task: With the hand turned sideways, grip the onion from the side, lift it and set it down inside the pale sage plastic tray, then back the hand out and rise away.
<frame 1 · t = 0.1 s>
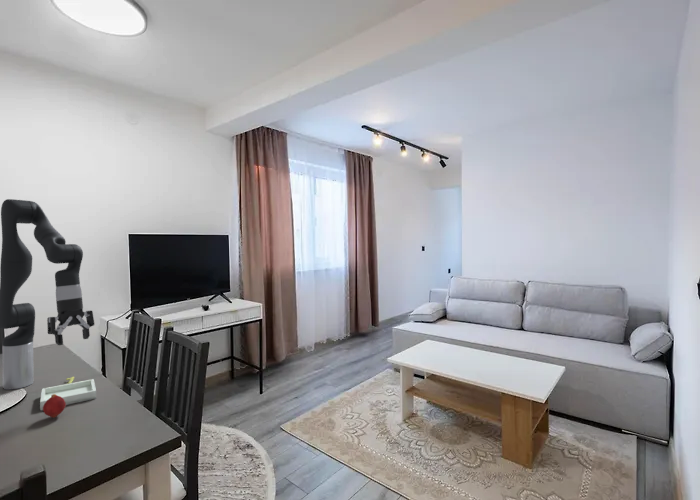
hand: (73, 341, 132), 22 cm above the table, tool pointing down, fingers open, 8 cm apart
tray: (69, 397, 136), on the table
onion: (54, 417, 121), on the table
key: (68, 387, 146), on the table
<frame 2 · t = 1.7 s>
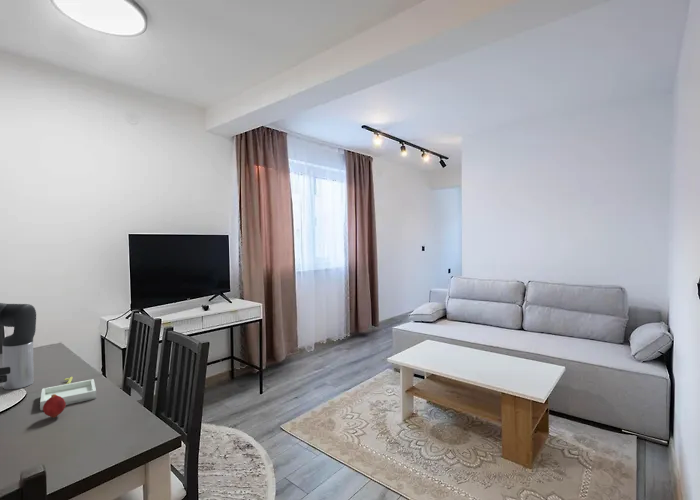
hand: (8, 373, 114), 17 cm above the table, tool horizontal, fingers open, 8 cm apart
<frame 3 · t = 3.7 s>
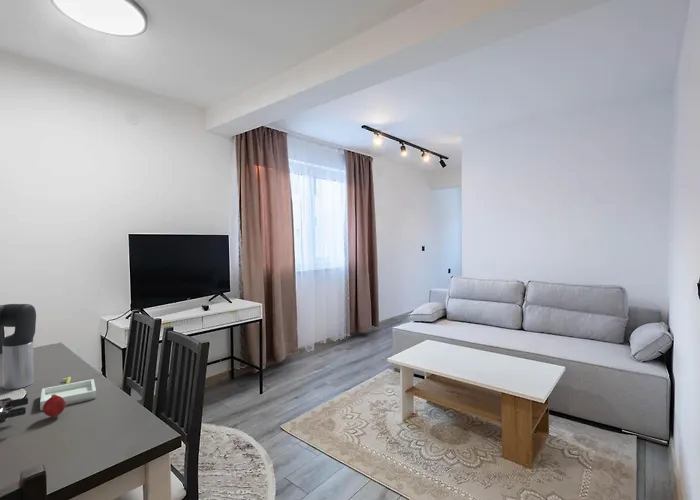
hand: (26, 405, 117), 6 cm above the table, tool horizontal, fingers open, 8 cm apart
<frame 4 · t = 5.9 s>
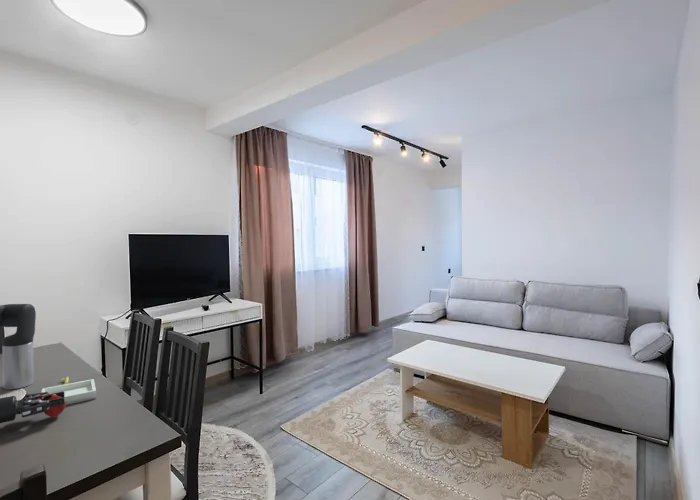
hand: (64, 397, 122), 6 cm above the table, tool horizontal, fingers closed on onion, 5 cm apart
onion: (54, 417, 121), on the table, touching gripper
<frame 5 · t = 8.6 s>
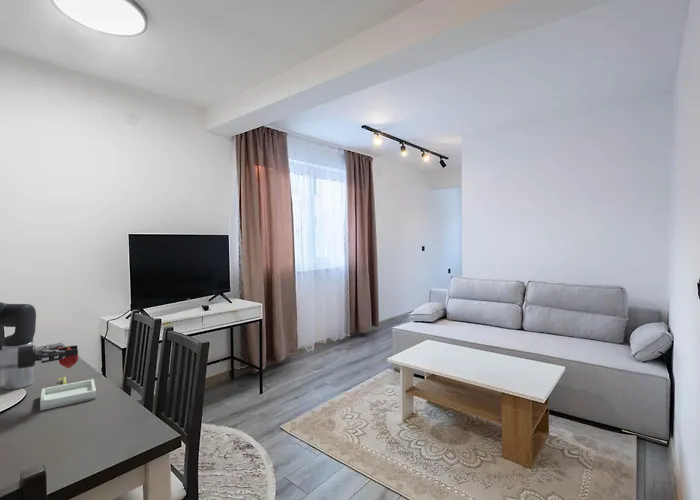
hand: (77, 350, 137), 18 cm above the table, tool horizontal, fingers closed on onion, 5 cm apart
onion: (68, 368, 136), point 11 cm above the table, touching gripper
when the fingers open (8 cm above the table, at t = 11.2 s): onion stays where it is, resting on tray.
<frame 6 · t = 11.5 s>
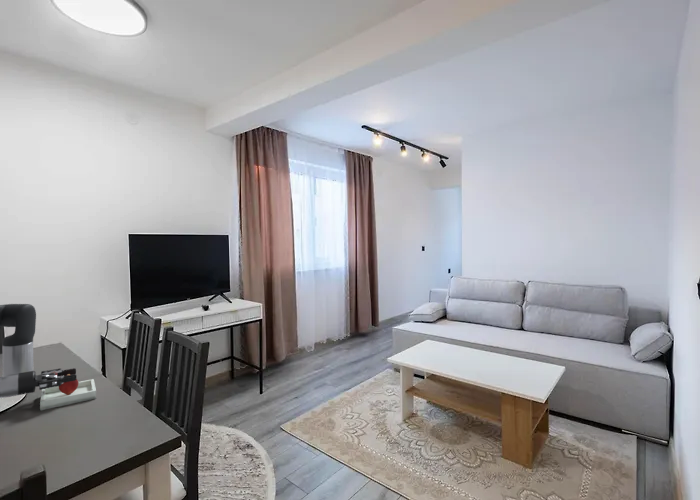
hand: (76, 374, 137), 8 cm above the table, tool horizontal, fingers open, 7 cm apart
onion: (68, 395, 136), point 1 cm above the table, touching tray
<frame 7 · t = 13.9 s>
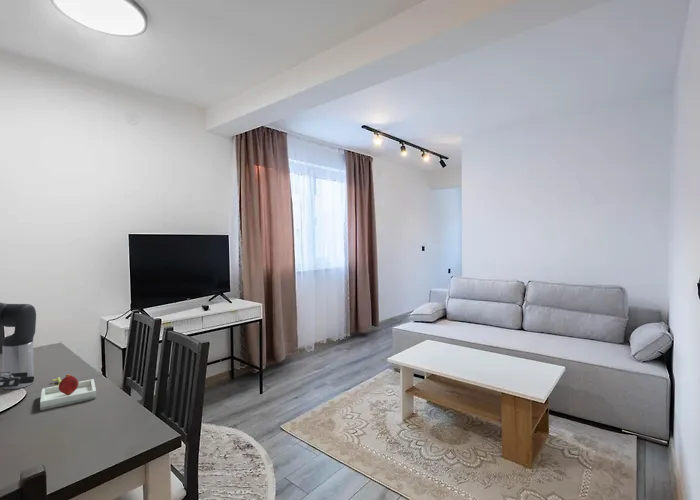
hand: (30, 377, 131), 9 cm above the table, tool horizontal, fingers open, 8 cm apart
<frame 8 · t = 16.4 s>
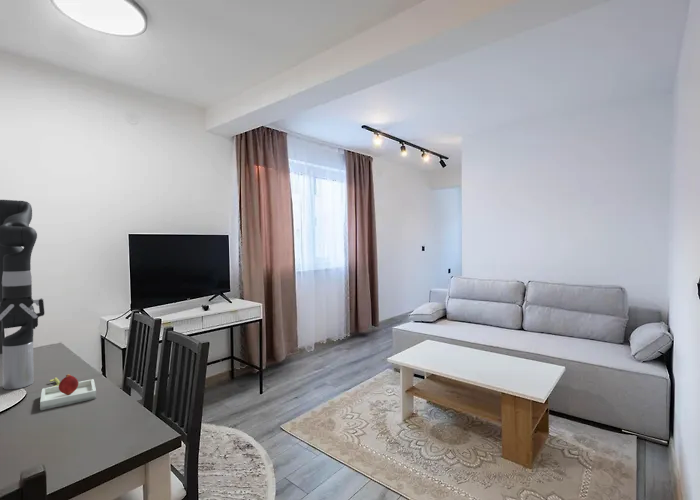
hand: (17, 330, 125), 28 cm above the table, tool pointing down, fingers open, 8 cm apart
at the end: onion inside the target area on the tray (0.1 cm from its centre), point 0.8 cm above the tray's base; the gripper is holding nothing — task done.
